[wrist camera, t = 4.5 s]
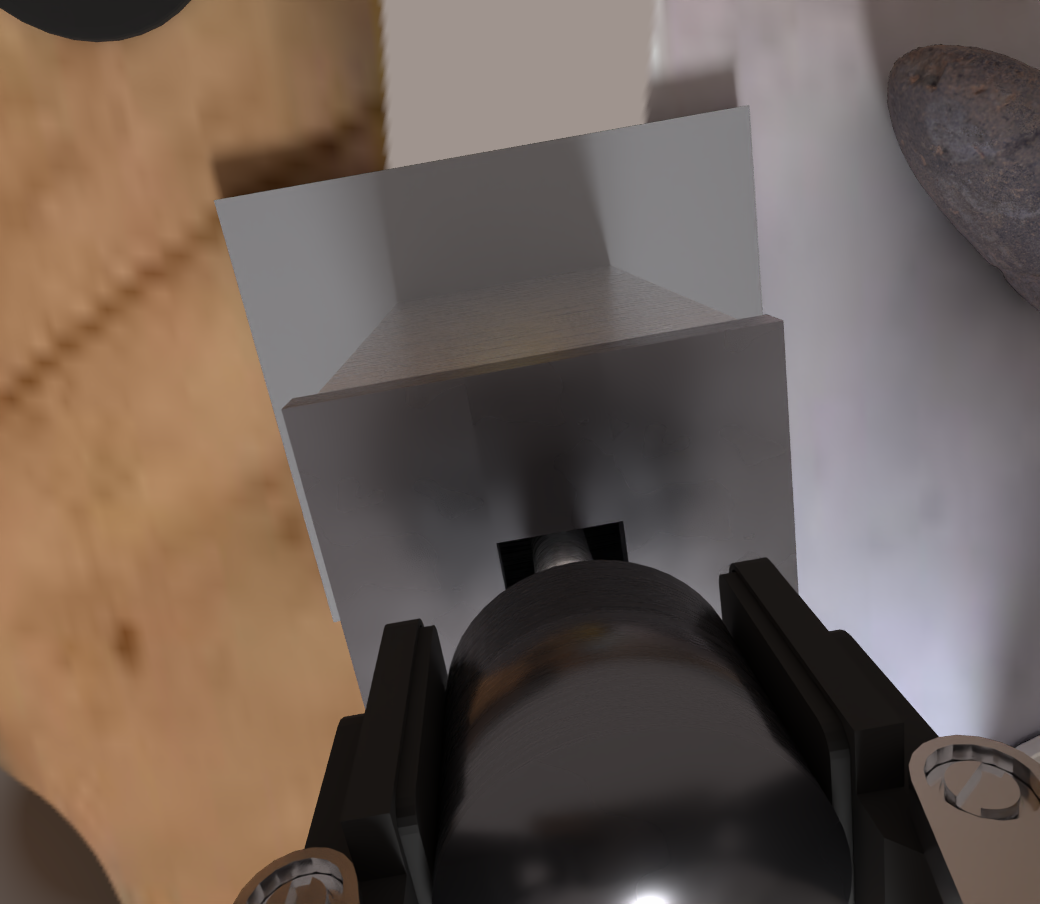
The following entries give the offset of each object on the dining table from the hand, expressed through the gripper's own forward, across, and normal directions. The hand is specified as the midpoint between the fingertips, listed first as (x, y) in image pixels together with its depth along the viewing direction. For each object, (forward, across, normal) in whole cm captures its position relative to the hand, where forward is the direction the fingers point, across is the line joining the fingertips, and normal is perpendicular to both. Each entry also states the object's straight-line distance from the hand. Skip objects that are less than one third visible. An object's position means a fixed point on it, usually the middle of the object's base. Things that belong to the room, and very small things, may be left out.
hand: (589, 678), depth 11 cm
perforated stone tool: (+21, -20, -4) cm, 29 cm away
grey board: (+21, 0, 0) cm, 21 cm away
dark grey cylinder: (+16, 0, 0) cm, 16 cm away
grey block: (+20, 0, +1) cm, 20 cm away
